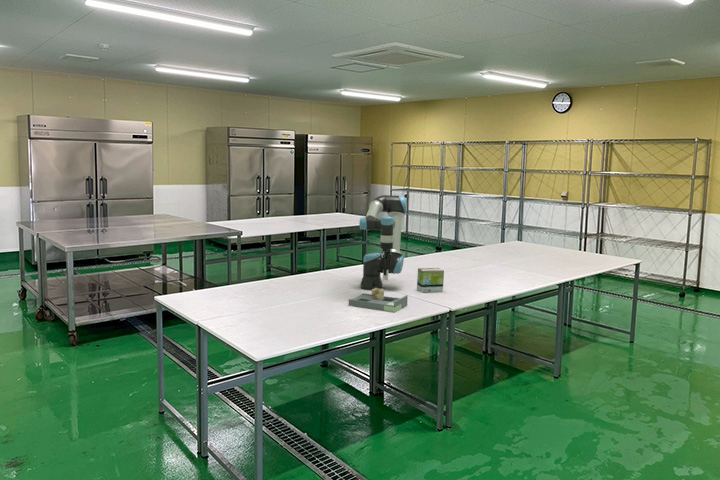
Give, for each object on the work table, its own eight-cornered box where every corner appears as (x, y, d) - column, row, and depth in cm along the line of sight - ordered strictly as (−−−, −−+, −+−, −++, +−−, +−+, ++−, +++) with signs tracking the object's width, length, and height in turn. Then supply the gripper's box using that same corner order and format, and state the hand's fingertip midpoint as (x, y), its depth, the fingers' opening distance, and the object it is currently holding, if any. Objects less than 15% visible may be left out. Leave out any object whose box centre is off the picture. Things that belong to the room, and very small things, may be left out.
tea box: (422, 292, 365) (422, 270, 363) (416, 289, 374) (417, 267, 372) (443, 291, 369) (444, 269, 367) (437, 288, 378) (438, 267, 376)
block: (371, 298, 334) (371, 289, 333) (375, 296, 339) (375, 287, 338) (379, 299, 332) (380, 290, 331) (383, 297, 336) (384, 289, 336)
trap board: (348, 305, 330) (348, 295, 329) (362, 298, 345) (362, 289, 345) (395, 312, 316) (395, 302, 315) (407, 305, 332) (407, 295, 331)
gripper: (387, 243, 331) (386, 282, 334) (396, 241, 342) (395, 279, 345) (376, 242, 334) (375, 281, 337) (385, 240, 346) (384, 277, 349)
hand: (385, 280), depth 341 cm, fingers closed
